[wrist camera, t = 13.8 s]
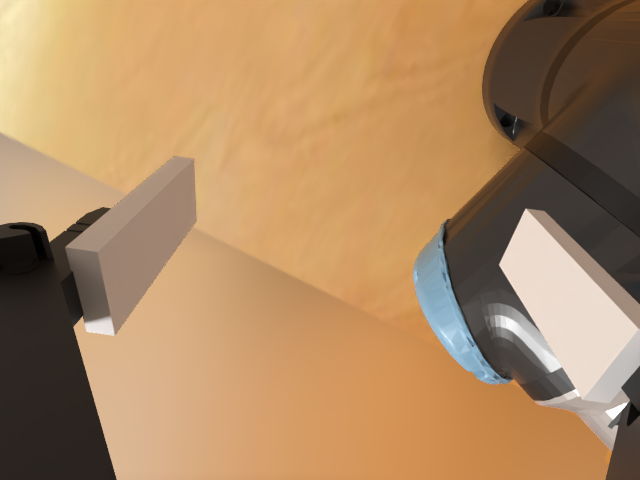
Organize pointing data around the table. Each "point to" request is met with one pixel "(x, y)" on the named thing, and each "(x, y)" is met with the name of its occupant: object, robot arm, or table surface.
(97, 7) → the table surface
